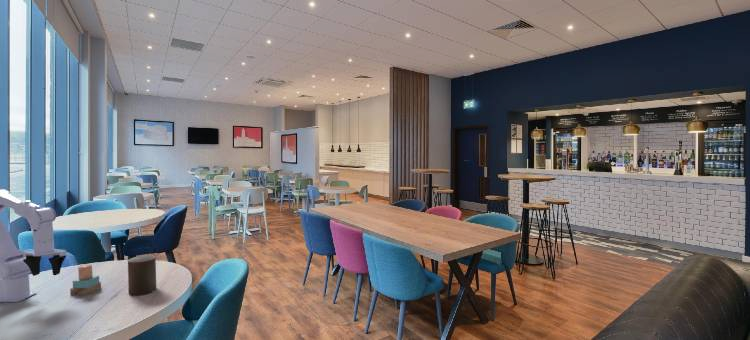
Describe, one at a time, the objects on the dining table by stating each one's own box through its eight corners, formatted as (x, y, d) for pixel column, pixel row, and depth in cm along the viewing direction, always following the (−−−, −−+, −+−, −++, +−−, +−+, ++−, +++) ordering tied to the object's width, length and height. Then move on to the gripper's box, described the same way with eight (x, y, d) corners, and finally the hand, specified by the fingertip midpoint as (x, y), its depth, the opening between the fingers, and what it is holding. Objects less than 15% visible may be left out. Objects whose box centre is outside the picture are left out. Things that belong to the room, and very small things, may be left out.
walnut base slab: (70, 296, 144) (70, 288, 143) (83, 289, 151) (83, 282, 150) (88, 295, 144) (88, 288, 144) (101, 288, 151) (100, 281, 151)
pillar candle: (143, 296, 142) (142, 259, 141) (122, 294, 144) (121, 258, 143) (162, 287, 152) (161, 252, 151) (142, 285, 153) (141, 251, 153)
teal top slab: (73, 288, 144) (72, 280, 144) (84, 282, 150) (84, 275, 150) (88, 288, 144) (87, 280, 144) (99, 282, 150) (99, 275, 150)
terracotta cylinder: (76, 279, 145) (75, 267, 145) (87, 275, 149) (86, 264, 149) (84, 280, 144) (83, 268, 143) (95, 276, 148) (94, 265, 148)
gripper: (13, 243, 132) (16, 279, 133) (53, 242, 133) (56, 278, 133) (31, 238, 139) (34, 272, 140) (69, 237, 140) (72, 271, 140)
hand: (46, 274), depth 137 cm, fingers open, 7 cm apart
